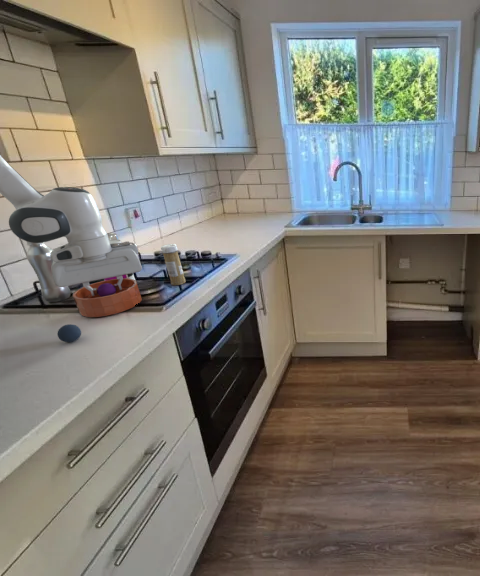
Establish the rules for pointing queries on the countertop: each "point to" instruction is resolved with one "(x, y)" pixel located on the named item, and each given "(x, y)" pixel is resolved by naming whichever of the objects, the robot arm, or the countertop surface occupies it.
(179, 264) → the sprinkles bottle
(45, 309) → the countertop surface
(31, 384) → the countertop surface
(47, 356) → the countertop surface
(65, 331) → the slate ball
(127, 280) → the bowl
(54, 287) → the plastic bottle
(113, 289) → the plum ball
